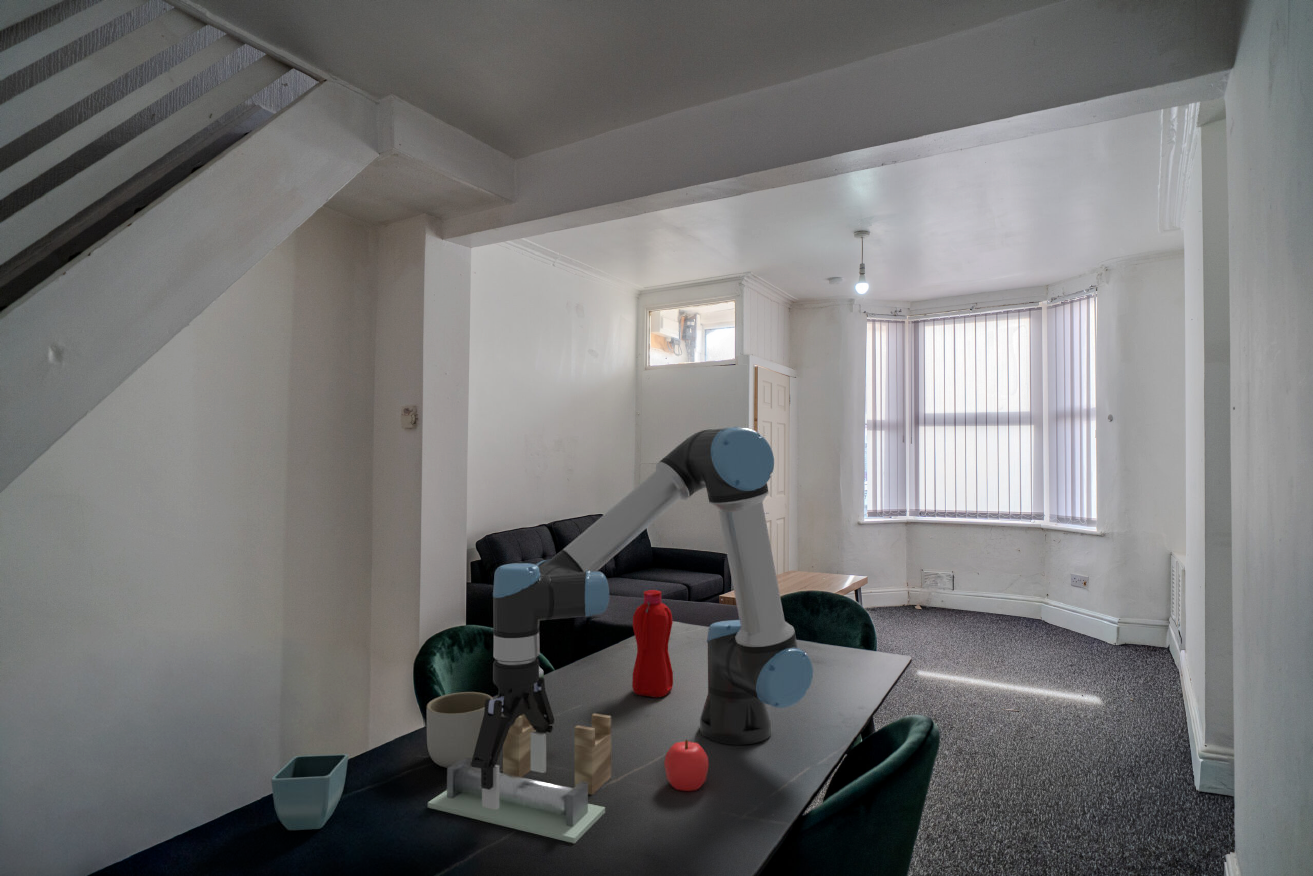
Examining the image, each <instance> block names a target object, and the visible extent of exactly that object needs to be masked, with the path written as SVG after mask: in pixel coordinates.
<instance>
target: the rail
mask: <svg viewBox="0 0 1313 876" xmlns="http://www.w3.org/2000/svg"><path fill="white" fill-rule="evenodd" d="M446 790H447V797H448V798H452V799H453V798H454V797H456V796H457V795H459V794H460V793H462V792H465V793H469V794H474V795H478V796H482V787H481V768H478V767H474V766H472V765H471V758H466V757H465V758H464V759H462V760H460V761H459V762H457V763H455V764H454V765H452V766H451V767H449V768H446ZM499 800H500V801H504V802H508V803H513V804H517V805H521V806H526V807H530V808H535V809H539V810H543V811H548V812H552V813H556V814H561V815H565V816H566V826H571V827H573V826H574V825H576V824H577V823H578V822H579V821H580V820H581V819H582V818H583V817H584V816H585V815H586V814H587V813H588V804H589V794H588V782H584V781H581V782H580V783H579V784H577V785H576V786H575V785H574V787H570V786H564V785H560V784H555V783H549V782H547V781H546V782H545V781H540V780H537V779H530V778H527V777H524V776H523V777H518V776H513V775H508V774H504V773H503V772H499Z"/></svg>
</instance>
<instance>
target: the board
mask: <svg viewBox="0 0 1313 876" xmlns="http://www.w3.org/2000/svg"><path fill="white" fill-rule="evenodd" d="M427 808H429V809H432V810H437V811H441V812H446V813H449V814H454V815H458V816H461V817H466V818H470V819H473V820H478V821H480V822H481V821H482V822H486V823H490V824H494V825H498V826H502V827H506V828H511V829H515V830H518V831H523V832H526V833H530V834H534V835H538V836H543V837H547V838H551V839H555V840H558V841H564V842H567V843H572V844H576V843H577V842H578V840H579V839H581V838H582V837H583V836H584V834H585V833H587V832H588V831H589V829H591V827H592V826H594V824H596V822H598V820H599V819H600V818H601V817H602V816H603V815H604V814H605V813H606V807H605V806H600V805H596V804H593V803H592V804H591V803H588V813H587V814H586V815H585V816H584V817H583V818H582V819H581V820H580V821H579V822H578V823H577V824H576V825H574V826H573V827H571V826H566V816H565V815H561V814H556V813H552V812H548V811H543V810H539V809H535V808H530V807H526V806H521V805H517V804H513V803H508V802H504V801H500V800H499V808H498V809H497V810H495V809H491V808H486V807H482V796H478V795H474V794H469V793H465V792H462V793H460V794H459V795H457V796H456V797H454V798H453V799H452V798H448V797H447V789H446V790H445V791H443V792H442V793H440V794H439V795H437V796H436V797H433V799H431V800H430V801H428V802H427ZM579 841H580V840H579Z"/></svg>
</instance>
